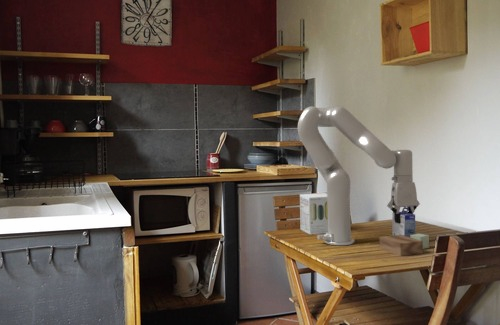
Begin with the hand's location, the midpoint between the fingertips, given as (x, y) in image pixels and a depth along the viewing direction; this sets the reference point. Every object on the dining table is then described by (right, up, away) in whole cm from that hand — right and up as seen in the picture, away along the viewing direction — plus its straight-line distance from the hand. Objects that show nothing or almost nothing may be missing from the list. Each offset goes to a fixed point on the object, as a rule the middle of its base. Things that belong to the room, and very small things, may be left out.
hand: (403, 221), depth 217 cm
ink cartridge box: (0, -9, +1) cm, 9 cm away
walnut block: (-6, -10, -15) cm, 19 cm away
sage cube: (+3, -9, -10) cm, 14 cm away
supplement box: (-32, -8, +29) cm, 44 cm away
